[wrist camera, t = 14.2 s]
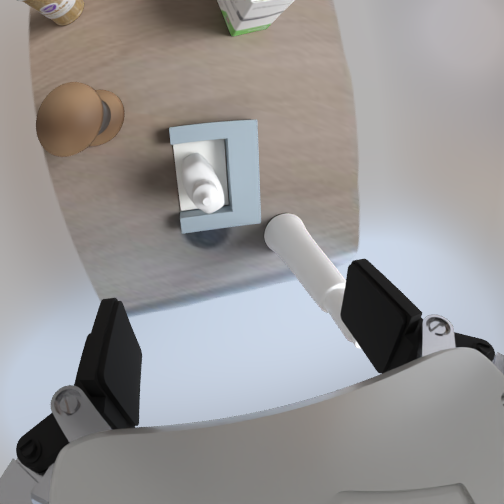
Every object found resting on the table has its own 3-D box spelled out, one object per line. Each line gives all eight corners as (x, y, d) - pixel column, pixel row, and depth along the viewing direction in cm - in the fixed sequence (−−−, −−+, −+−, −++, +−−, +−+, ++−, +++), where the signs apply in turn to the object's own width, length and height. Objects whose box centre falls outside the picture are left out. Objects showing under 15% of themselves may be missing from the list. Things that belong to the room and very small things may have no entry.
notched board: (170, 127, 30) (169, 127, 28) (252, 119, 32) (257, 119, 30) (182, 226, 36) (182, 233, 34) (256, 216, 38) (260, 223, 36)
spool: (71, 98, 25) (33, 95, 16) (122, 84, 26) (98, 73, 17) (76, 150, 28) (41, 164, 19) (127, 138, 29) (104, 147, 21)
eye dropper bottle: (183, 196, 34) (182, 234, 24) (182, 152, 32) (180, 169, 21) (217, 195, 35) (232, 231, 25) (218, 151, 33) (233, 168, 22)
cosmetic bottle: (265, 212, 38) (346, 316, 19) (306, 213, 39) (405, 305, 20) (262, 252, 41) (326, 370, 22) (300, 251, 42) (381, 355, 23)
